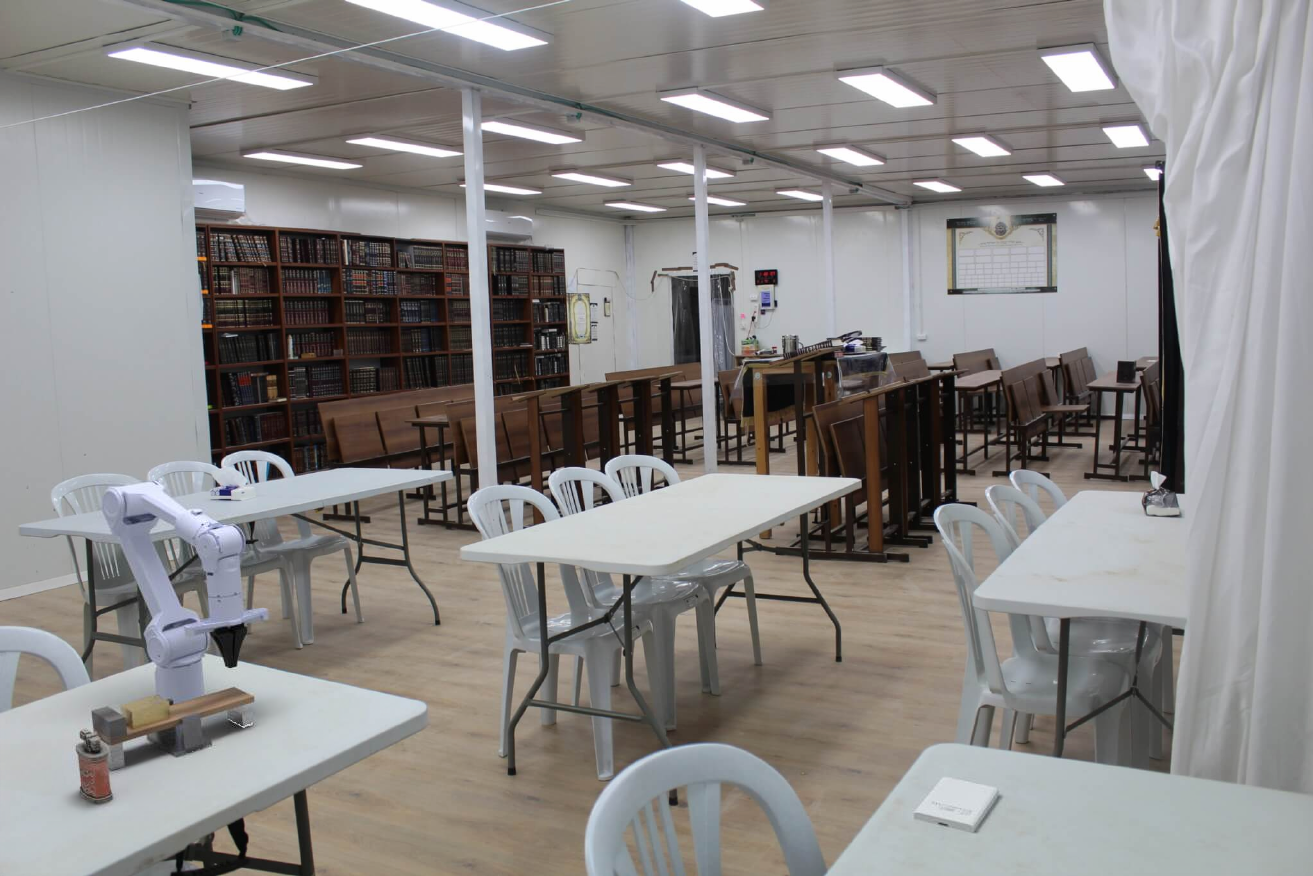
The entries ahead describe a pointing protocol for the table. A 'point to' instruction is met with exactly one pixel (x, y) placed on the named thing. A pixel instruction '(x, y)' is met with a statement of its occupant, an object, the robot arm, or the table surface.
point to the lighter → (93, 768)
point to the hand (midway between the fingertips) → (231, 666)
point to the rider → (145, 711)
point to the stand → (179, 736)
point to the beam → (116, 730)
